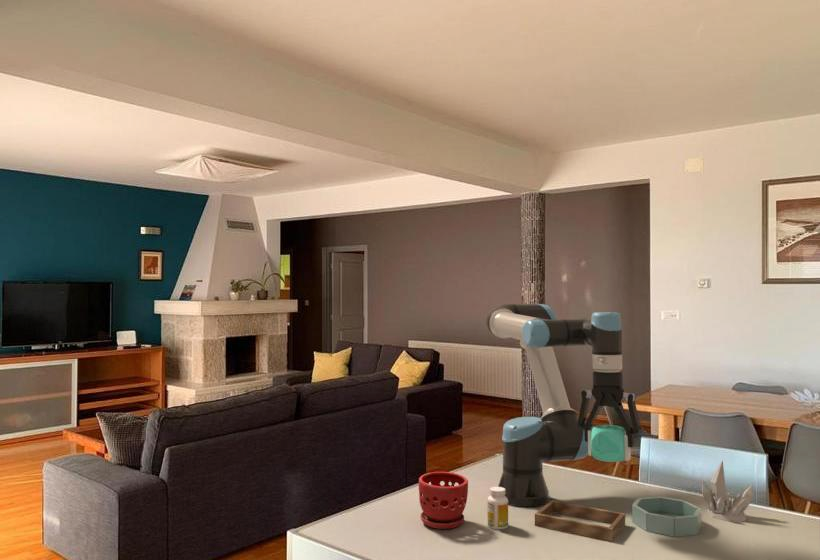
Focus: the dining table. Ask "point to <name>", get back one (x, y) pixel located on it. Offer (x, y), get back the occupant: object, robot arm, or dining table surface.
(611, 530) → the rectangular frame
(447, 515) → the plant pot
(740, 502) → the crystal
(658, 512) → the bowl
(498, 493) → the supplement bottle
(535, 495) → the robot arm
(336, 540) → the dining table surface
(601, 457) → the decorative dice
